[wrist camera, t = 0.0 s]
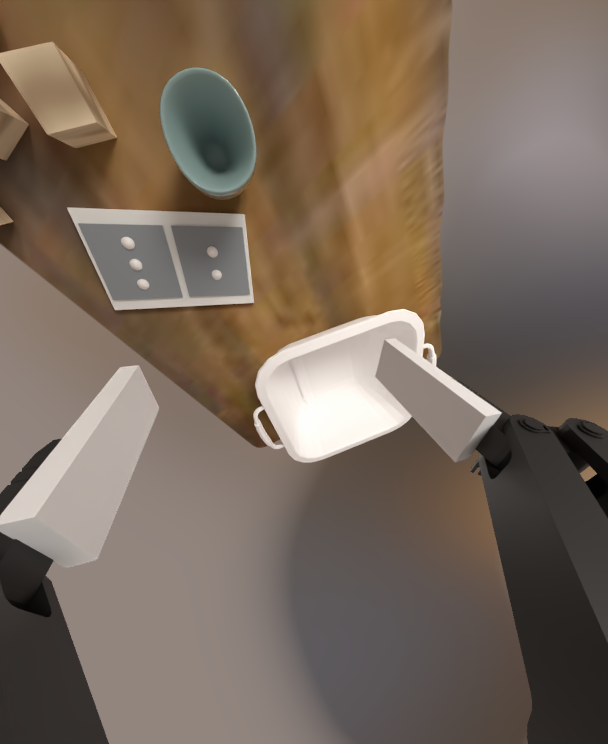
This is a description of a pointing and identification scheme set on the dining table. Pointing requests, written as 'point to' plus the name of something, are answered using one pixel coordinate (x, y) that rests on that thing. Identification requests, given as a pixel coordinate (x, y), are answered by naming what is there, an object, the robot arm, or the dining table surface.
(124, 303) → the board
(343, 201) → the dining table surface
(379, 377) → the robot arm
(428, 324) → the dining table surface
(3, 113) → the block
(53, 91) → the block
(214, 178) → the cup
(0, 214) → the block
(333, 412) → the baking dish
